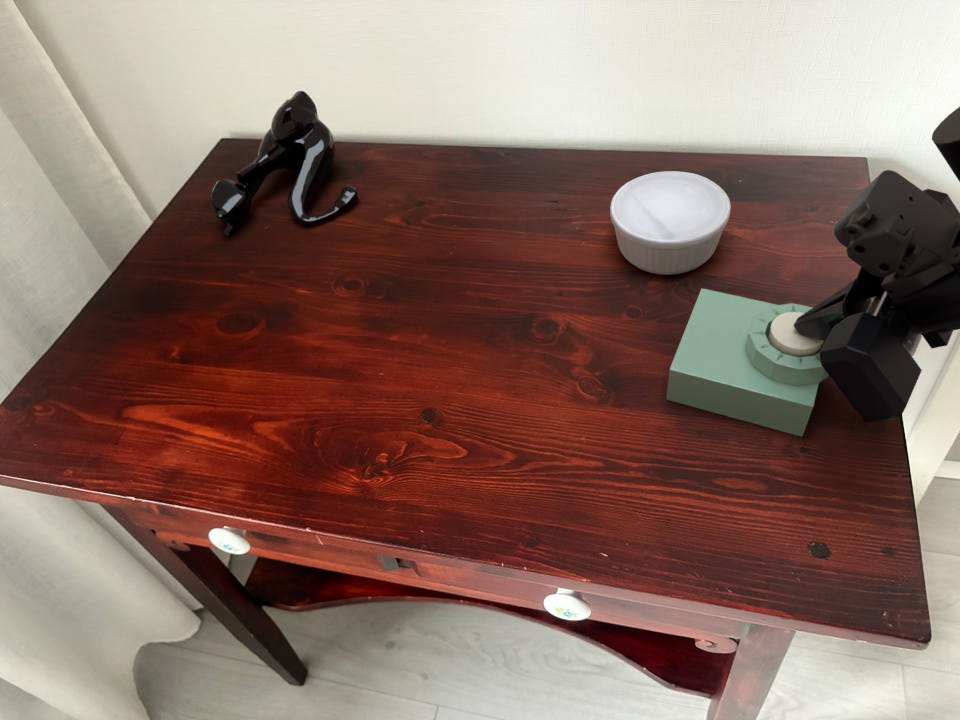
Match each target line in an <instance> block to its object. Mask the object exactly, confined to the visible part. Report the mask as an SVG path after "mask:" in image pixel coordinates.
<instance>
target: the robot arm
mask: <svg viewBox="0 0 960 720" xmlns="http://www.w3.org/2000/svg"><path fill="white" fill-rule="evenodd" d="M931 141H932V142H933V143H934V145H935V147H936V148H937V150H938V151H939V153H940V154H941V156H942V157H943V159H944V160H945V162H946V164H947V165H948V166H949V168H950V170H951V172H953V174H954V176H955V177H956V179H957V180H958V182H959V183H960V106H958V107H957V108H955V110H954V111H952V112H951V113H950V114H948V115H946V117H945V118H944V119H943V120H942V121H941V122H940V123H939V124H938V126H936V128H935V129H934V130H933V132H932V134H931ZM833 232H834V236H835V238H836V239H837V241H838V242H839V243H840V244H841V245H842V246H844V247H845V248H846V255H847V257H848V258H849V259H850V260H851V261H853V262H854V263H855V264H857V265H858V266H859V267H860V269H859V272H858V274H857V277H856V278H854V279H853V280H852V281H850V282H849V283H847V285H845V286H844V287H842V288H841V289H839V290H838V291H836V292H835V293H833V294H832V295H830V296H829V297H827V298H826V299H824V300H822V301H821V302H819V303H818V304H817V305H815V306H813V308H812V309H811V310H809V311H808V312H806V313H804V314H803V315H801V316H800V317H798V318H797V320H796V322H795V323H794V328H795V329H796V330H797V331H798V333H799V334H800V335H803V336H807V337H811V338H815V339H819V340H824V341H825V343H824V345H823V347H822V349H821V351H820V359H821V365H822V366H823V368H824V369H825V370H826V372H827V373H828V374H829V376H828V377H830V378H831V380H832V382H834V383H835V385H836V386H837V388H838V389H839V390H840V391H841V393H842V394H843V396H844V397H845V398H846V400H847V401H848V402H849V404H850V405H851V406H852V407H853V409H854V410H855V411H856V413H857V414H858V415H859V417H860V418H861V419H862V421H863V422H864V423H877V422H886V421H892V420H893V421H894V420H900V419H901V417H902V416H903V413H904V411H905V410H906V407H907V405H908V403H909V402H910V399H911V396H912V394H913V392H914V389H915V387H916V384H917V383H918V380H919V378H920V376H921V373H922V369H921V367H920V365H919V364H918V362H917V361H916V360H915V358H914V357H913V356H915V353H916V352H917V350H918V347H919V344H920V342H921V340H922V338H923V339H924V340H925V342H926V343H927V344H928V345H929V347H930V348H931V349H936V348H942V347H947V346H948V344H949V342H950V340H951V337H952V335H953V332H954V331H957V330H960V211H959V210H958V208H957V206H956V205H955V204H954V202H953V200H952V199H951V196H950V195H949V194H948V193H946V192H943V191H938V190H934V189H930V188H926V189H923V190H922V189H921V188H919V187H918V186H917V185H915V184H913V183H912V182H911V181H910V180H908V179H907V178H905V177H904V176H903V175H901V174H900V173H898V172H896V171H894V170H892V169H886V170H883V171H882V172H880V174H879V175H877V176H876V177H875V178H874V179H873V180H872V181H871V182H870V183H869V184H867V186H865V187H864V188H863V189H862V190H861V191H859V193H857V194H856V196H854V197H853V198H852V199H851V200H850V201H849V202H848V204H847V207H846V209H845V211H844V212H843V213H842V216H841V217H840V219H839V220H838V221H837V222H836V224H835V225H834V228H833Z"/></svg>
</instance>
